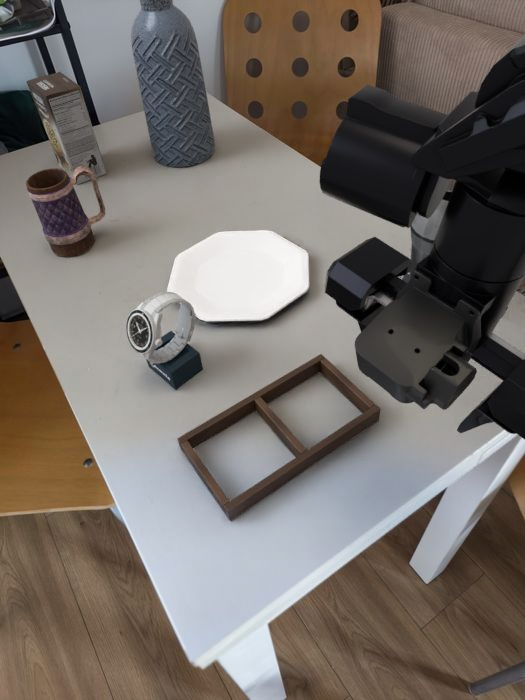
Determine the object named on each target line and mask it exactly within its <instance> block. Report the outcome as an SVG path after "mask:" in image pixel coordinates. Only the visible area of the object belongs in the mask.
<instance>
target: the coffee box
mask: <svg viewBox="0 0 525 700" xmlns="http://www.w3.org/2000/svg"><path fill="white" fill-rule="evenodd" d="M25 82H26V83H25V84H26V85H27V87H28V89H29V92H30V94H31V95H30V96H31V97H32V101H33V102H34V105H35V107H36V111H37V112H38V115H39V117H40V120H41V123H42V125H43V128H44V130H45V133H46V135H47V138H48V141H49V143H50V146H51V148H52V151H53V153H54V156H55V159H56V161H57V164H58V166H59V169H62V170H64V171H66V173H67V174H68V176H69V177H70V179H72V178H73V175H74V170H75V169H76V168H77V167H80V166H82V165H83V166H86V167H89V168H90V169H91V170H92V171H93V173H94V174H95V175H96V178H99V177H102V176H104V175H107V169H106V166H105V164H104V160H103V158H102V157H103V156H102V153H101V150H100V148H99V143H98V140H97V138H96V133H95V131H94V127H93V124H92V121H91V117H90V115H89V111H88V108H87V105H86V101H85V98H84V94H83V92H82V89H81V86H80V85H79V84H78V83H77V82H75V81H73V80H72V79H71V78H69V77H68V76H66V75H65V74H64V73H62V72H61V71H58V72H55V73H51V74H46V75H42V76H38V77H35V78H31V79H29V80H27V81H25ZM88 181H92V180H91V179H90V178H89V177H88V176H85V175H80V176H79V177H78V179H77V183H76V184H75V185H81V184H83V183H86V182H88Z"/></svg>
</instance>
